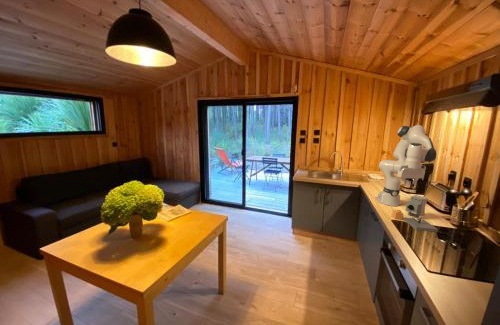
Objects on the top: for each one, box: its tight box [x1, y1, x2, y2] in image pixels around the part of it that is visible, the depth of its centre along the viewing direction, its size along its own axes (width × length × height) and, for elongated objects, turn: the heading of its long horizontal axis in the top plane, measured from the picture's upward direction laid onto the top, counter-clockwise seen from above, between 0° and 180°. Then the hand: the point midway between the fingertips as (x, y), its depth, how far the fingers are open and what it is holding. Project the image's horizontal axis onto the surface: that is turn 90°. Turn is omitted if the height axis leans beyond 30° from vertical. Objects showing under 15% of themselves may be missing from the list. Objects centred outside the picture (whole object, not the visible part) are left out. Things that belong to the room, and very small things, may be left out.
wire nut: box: [391, 209, 404, 221], centre depth 165 cm, size 5×5×6 cm
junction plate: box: [402, 216, 439, 233], centre depth 153 cm, size 16×13×7 cm
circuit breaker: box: [405, 194, 428, 219], centre depth 169 cm, size 8×14×15 cm, turn 117°
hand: (408, 184), depth 160 cm, fingers open, 8 cm apart
